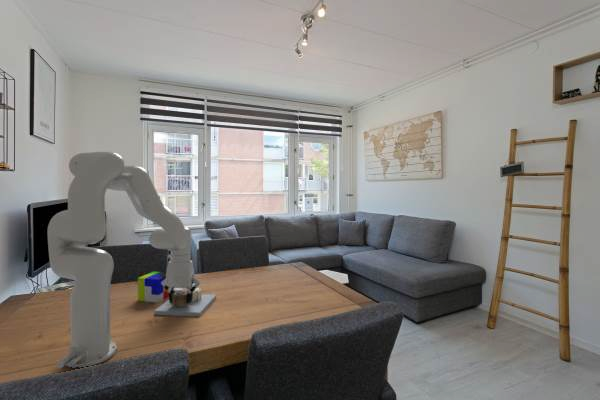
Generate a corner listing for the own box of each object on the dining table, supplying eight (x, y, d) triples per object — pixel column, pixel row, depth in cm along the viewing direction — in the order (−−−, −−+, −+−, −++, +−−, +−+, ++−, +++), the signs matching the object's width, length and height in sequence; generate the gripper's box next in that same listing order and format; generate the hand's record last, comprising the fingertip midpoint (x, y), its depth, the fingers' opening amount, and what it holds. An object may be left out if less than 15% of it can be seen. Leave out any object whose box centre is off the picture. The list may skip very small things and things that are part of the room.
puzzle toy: (158, 302, 127) (158, 279, 127) (138, 300, 129) (137, 277, 129) (172, 294, 137) (172, 273, 136) (153, 292, 139) (153, 271, 138)
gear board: (199, 316, 114) (199, 295, 114) (154, 314, 115) (154, 294, 115) (216, 298, 133) (216, 280, 133) (177, 296, 134) (177, 279, 134)
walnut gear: (185, 306, 117) (185, 296, 116) (169, 305, 117) (169, 295, 117) (191, 300, 123) (191, 290, 123) (176, 299, 123) (176, 290, 123)
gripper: (154, 259, 116) (154, 304, 117) (198, 260, 115) (198, 306, 116) (164, 255, 123) (164, 297, 124) (205, 256, 122) (205, 299, 123)
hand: (180, 301), depth 120 cm, fingers closed on walnut gear, 6 cm apart
